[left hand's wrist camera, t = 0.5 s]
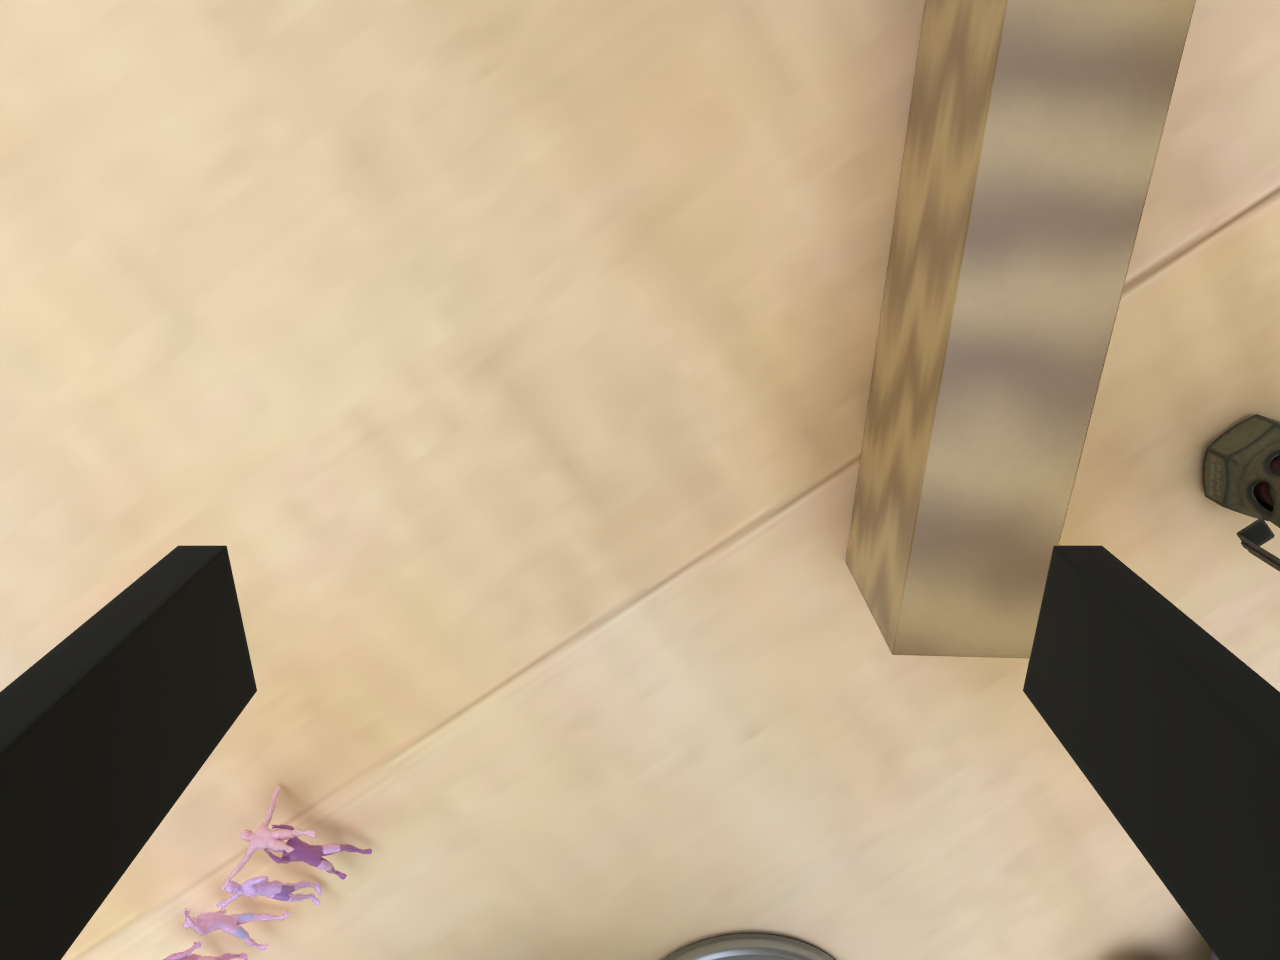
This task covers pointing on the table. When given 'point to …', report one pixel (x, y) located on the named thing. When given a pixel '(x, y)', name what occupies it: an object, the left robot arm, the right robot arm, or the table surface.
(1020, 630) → the bar
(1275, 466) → the grenade
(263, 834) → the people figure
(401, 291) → the table surface
